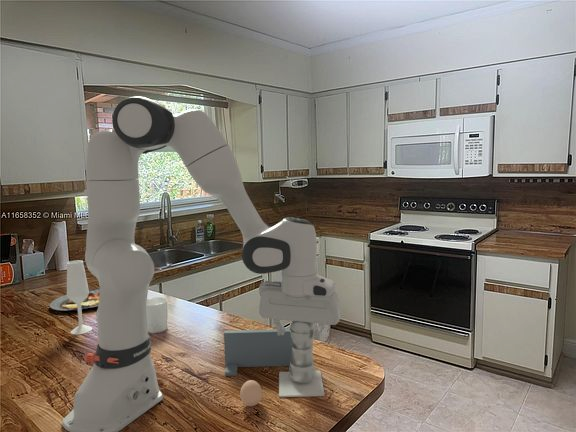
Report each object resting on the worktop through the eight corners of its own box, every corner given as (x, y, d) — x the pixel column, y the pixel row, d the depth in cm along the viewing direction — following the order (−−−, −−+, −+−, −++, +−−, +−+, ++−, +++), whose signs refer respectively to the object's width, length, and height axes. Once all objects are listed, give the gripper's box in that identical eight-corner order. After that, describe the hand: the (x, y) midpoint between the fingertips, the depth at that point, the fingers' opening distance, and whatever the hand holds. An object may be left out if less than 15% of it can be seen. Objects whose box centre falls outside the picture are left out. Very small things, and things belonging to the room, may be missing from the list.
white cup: (173, 328, 139) (171, 300, 137) (152, 336, 133) (150, 307, 132) (161, 322, 144) (159, 295, 143) (140, 329, 138) (138, 301, 137)
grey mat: (324, 396, 98) (324, 394, 98) (279, 397, 98) (278, 395, 97) (320, 372, 109) (320, 370, 109) (279, 373, 108) (279, 371, 108)
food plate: (121, 290, 181) (120, 282, 180) (116, 308, 159) (115, 300, 158) (58, 298, 173) (57, 290, 173) (44, 319, 151) (43, 310, 151)
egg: (245, 396, 98) (244, 374, 97) (265, 400, 97) (264, 377, 96) (237, 409, 93) (236, 385, 92) (257, 412, 92) (256, 388, 91)
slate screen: (305, 373, 108) (305, 338, 107) (223, 375, 108) (221, 340, 106) (304, 362, 114) (303, 328, 113) (226, 364, 114) (224, 330, 112)
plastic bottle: (297, 371, 109) (298, 299, 106) (319, 378, 105) (320, 304, 102) (283, 381, 103) (283, 305, 101) (306, 390, 99) (306, 311, 97)
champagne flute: (83, 335, 135) (76, 265, 131) (65, 333, 136) (58, 264, 133) (96, 326, 141) (90, 259, 138) (79, 325, 143) (73, 259, 139)
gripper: (254, 283, 99) (255, 337, 101) (337, 290, 94) (337, 347, 95) (263, 276, 105) (264, 327, 107) (341, 282, 100) (341, 336, 101)
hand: (299, 336), depth 101 cm, fingers open, 8 cm apart
